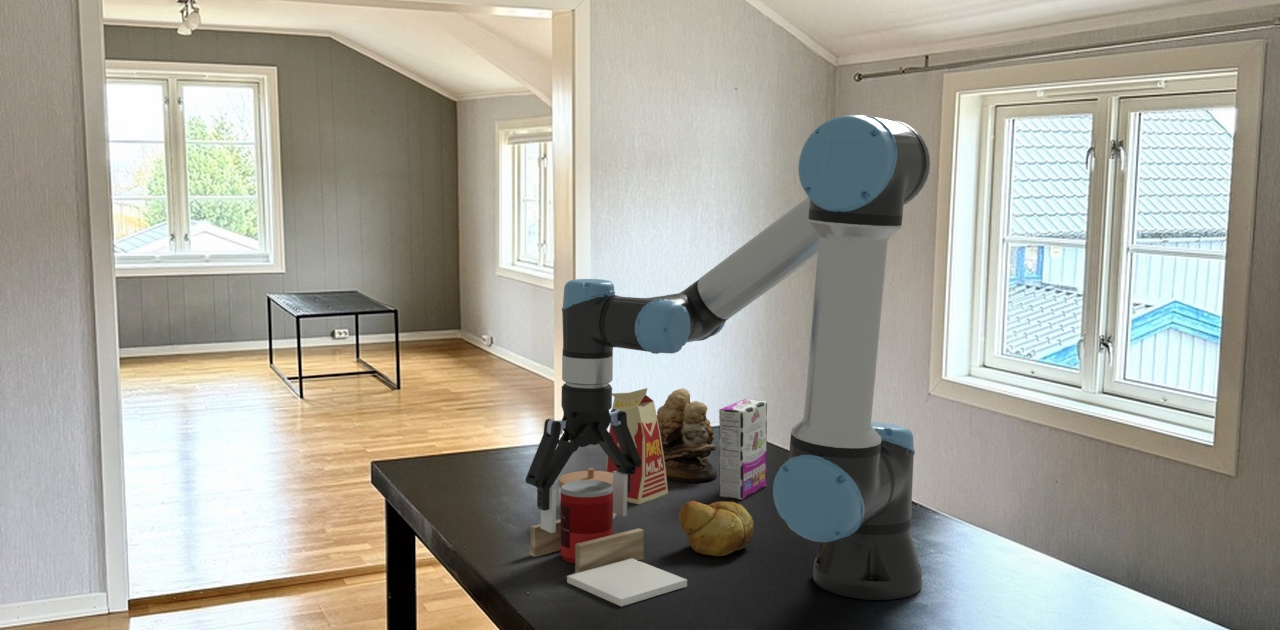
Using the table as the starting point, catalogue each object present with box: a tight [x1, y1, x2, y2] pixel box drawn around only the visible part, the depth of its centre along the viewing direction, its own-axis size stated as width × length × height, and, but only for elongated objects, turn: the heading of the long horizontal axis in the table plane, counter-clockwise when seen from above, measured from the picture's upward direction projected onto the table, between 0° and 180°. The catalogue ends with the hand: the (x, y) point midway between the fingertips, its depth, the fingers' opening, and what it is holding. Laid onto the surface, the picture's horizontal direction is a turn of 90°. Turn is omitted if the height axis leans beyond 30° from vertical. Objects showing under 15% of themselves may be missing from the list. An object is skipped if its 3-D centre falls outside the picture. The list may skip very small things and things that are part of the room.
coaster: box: [566, 558, 688, 607], centre depth 160 cm, size 12×12×1 cm
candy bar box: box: [718, 398, 768, 501], centre depth 208 cm, size 11×5×16 cm, turn 150°
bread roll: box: [678, 500, 755, 557], centre depth 176 cm, size 13×10×8 cm
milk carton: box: [605, 387, 669, 505], centre depth 205 cm, size 9×9×20 cm
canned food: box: [559, 480, 614, 565], centre depth 171 cm, size 8×8×11 cm
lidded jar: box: [557, 467, 618, 520], centre depth 188 cm, size 11×11×9 cm
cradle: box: [529, 518, 645, 574], centre depth 171 cm, size 12×12×4 cm
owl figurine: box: [656, 387, 718, 484], centre depth 222 cm, size 18×12×17 cm, turn 33°
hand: (584, 522), depth 171 cm, fingers open, 13 cm apart
